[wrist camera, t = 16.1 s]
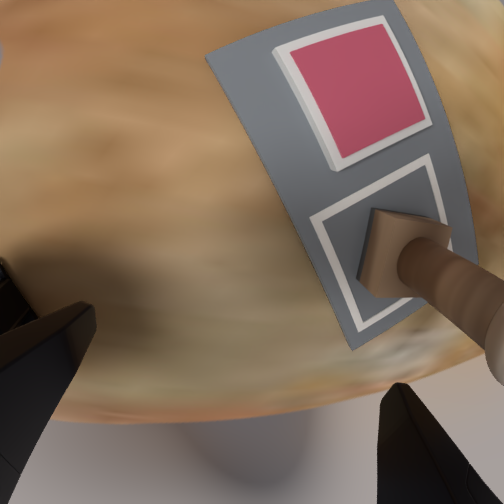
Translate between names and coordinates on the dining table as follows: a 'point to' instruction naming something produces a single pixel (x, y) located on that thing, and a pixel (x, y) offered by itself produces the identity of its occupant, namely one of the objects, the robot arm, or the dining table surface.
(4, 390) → the robot arm
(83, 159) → the dining table surface
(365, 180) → the stamping board
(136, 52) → the dining table surface
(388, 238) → the walnut stamp
